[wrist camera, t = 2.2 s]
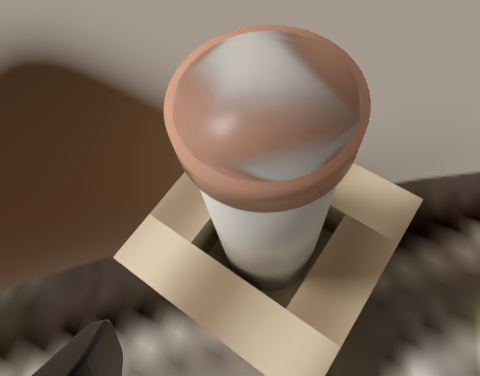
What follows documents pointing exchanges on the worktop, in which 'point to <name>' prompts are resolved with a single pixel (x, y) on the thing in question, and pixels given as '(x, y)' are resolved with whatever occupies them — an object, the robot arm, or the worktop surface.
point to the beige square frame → (280, 301)
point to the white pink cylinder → (267, 141)
